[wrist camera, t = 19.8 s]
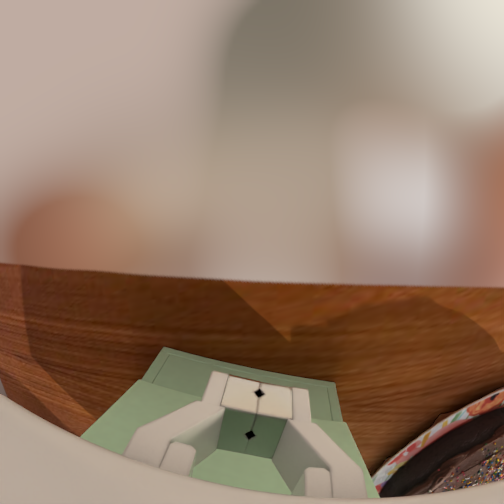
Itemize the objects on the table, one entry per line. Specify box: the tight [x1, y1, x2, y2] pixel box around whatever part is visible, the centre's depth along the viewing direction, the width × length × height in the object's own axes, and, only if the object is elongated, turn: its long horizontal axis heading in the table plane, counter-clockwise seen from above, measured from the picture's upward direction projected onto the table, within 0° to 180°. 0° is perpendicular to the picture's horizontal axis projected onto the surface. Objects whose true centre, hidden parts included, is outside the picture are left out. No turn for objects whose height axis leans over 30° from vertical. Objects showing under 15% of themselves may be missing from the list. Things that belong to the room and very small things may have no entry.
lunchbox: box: [142, 347, 343, 422], centre depth 23 cm, size 17×14×5 cm
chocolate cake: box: [371, 387, 504, 498], centre depth 22 cm, size 28×28×7 cm
